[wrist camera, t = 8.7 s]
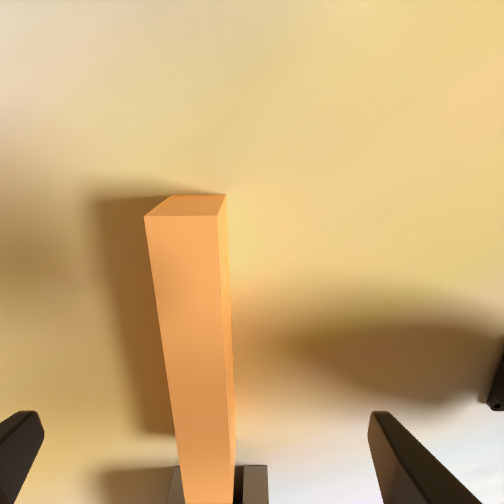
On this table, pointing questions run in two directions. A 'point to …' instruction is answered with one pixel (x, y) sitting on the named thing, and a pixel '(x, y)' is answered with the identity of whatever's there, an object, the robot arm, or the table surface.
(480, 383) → the table surface
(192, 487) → the orange rectangular bar
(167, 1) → the table surface
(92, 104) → the table surface
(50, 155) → the table surface
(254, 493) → the dispenser
